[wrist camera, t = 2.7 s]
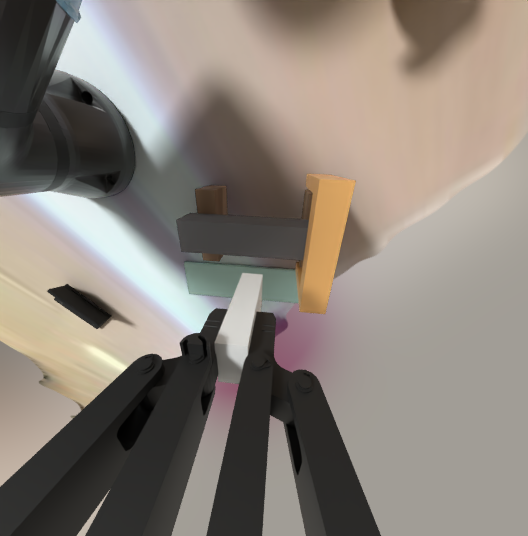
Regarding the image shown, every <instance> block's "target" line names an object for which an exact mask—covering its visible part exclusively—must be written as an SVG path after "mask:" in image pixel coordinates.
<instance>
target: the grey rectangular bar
mask: <svg viewBox="0 0 528 536" xmlns="http://www.w3.org/2000/svg"><path fill="white" fill-rule="evenodd" d="M176 222H177V228H178V234H179V240H180V246H181V252H193V253H207V254H221V255H235V256H249V257H263V258H277V259H291V260H303V259H304V252H305V245H306V238H307V231H308V224H309V220H305V219H287V218H270V217H253V216H236V215H219V214H202V213H189V214H187V215H185V216H183V217H181V218H179V219H178V220H176Z"/></svg>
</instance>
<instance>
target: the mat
mask: <svg viewBox="0 0 528 536" xmlns="http://www.w3.org/2000/svg"><path fill="white" fill-rule="evenodd" d="M184 266H185V272H186V278H187V284H188V290H189V294H196V295H208V296H219V297H231V298H233V295H234V293H235V290H236V288H237V285H238V283H239V280H240V278H241V275H242V273H250V274H263V282H262V300H266V301H278V302H290V303H299V300H298V291H297V281H296V271H295V269H283V268H270V267H256V266H243V265H229V264H216V263H202V262H189V261H185V262H184Z"/></svg>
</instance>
